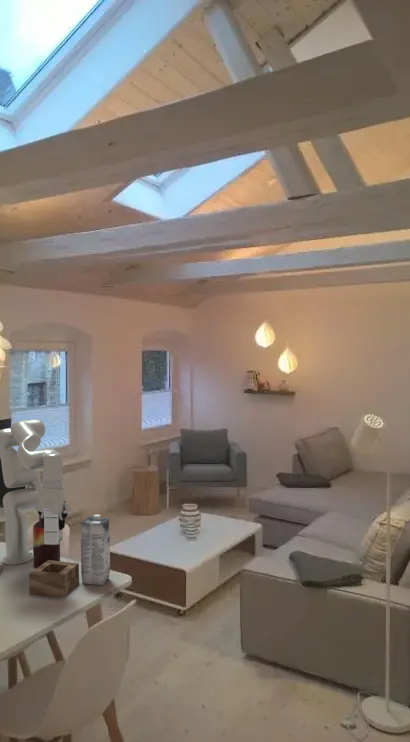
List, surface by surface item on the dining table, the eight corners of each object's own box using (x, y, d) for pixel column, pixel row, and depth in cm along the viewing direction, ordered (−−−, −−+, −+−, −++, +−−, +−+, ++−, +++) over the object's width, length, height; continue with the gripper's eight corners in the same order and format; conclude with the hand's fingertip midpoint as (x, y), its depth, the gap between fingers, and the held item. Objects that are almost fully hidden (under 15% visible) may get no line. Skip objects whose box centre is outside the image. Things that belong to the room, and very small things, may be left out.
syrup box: (58, 544, 215) (59, 508, 215) (43, 544, 215) (44, 507, 215) (62, 540, 221) (63, 504, 221) (47, 539, 221) (48, 504, 221)
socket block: (48, 579, 228) (48, 560, 227) (79, 582, 224) (78, 563, 224) (29, 593, 214) (29, 573, 214) (61, 597, 210) (61, 577, 210)
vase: (28, 575, 232) (27, 514, 231) (42, 565, 242) (41, 506, 241) (52, 577, 229) (51, 515, 228) (65, 567, 240) (64, 508, 239)
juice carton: (102, 587, 219) (101, 520, 218) (79, 584, 222) (78, 518, 221) (112, 578, 228) (111, 514, 227) (89, 575, 231) (88, 512, 230)
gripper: (28, 484, 216) (28, 529, 217) (67, 487, 211) (68, 533, 212) (38, 480, 223) (39, 523, 224) (77, 482, 219) (77, 527, 219)
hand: (53, 527), depth 218 cm, fingers closed on syrup box, 6 cm apart
